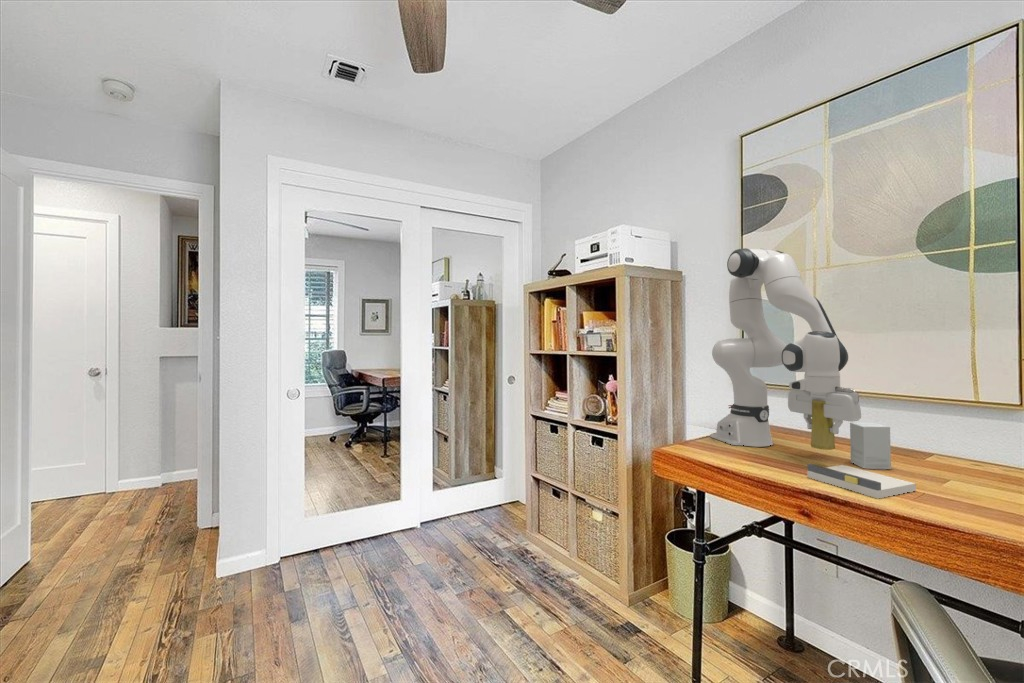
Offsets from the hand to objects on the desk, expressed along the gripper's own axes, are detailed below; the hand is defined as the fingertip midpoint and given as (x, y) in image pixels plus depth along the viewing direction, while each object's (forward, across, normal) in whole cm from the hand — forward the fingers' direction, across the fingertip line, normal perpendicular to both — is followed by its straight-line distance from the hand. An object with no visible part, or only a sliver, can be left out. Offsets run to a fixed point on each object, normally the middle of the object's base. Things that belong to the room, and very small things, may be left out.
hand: (822, 431), depth 134 cm
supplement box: (+11, -4, -14) cm, 18 cm away
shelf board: (+11, -14, +6) cm, 19 cm away
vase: (+5, 0, 0) cm, 5 cm away
